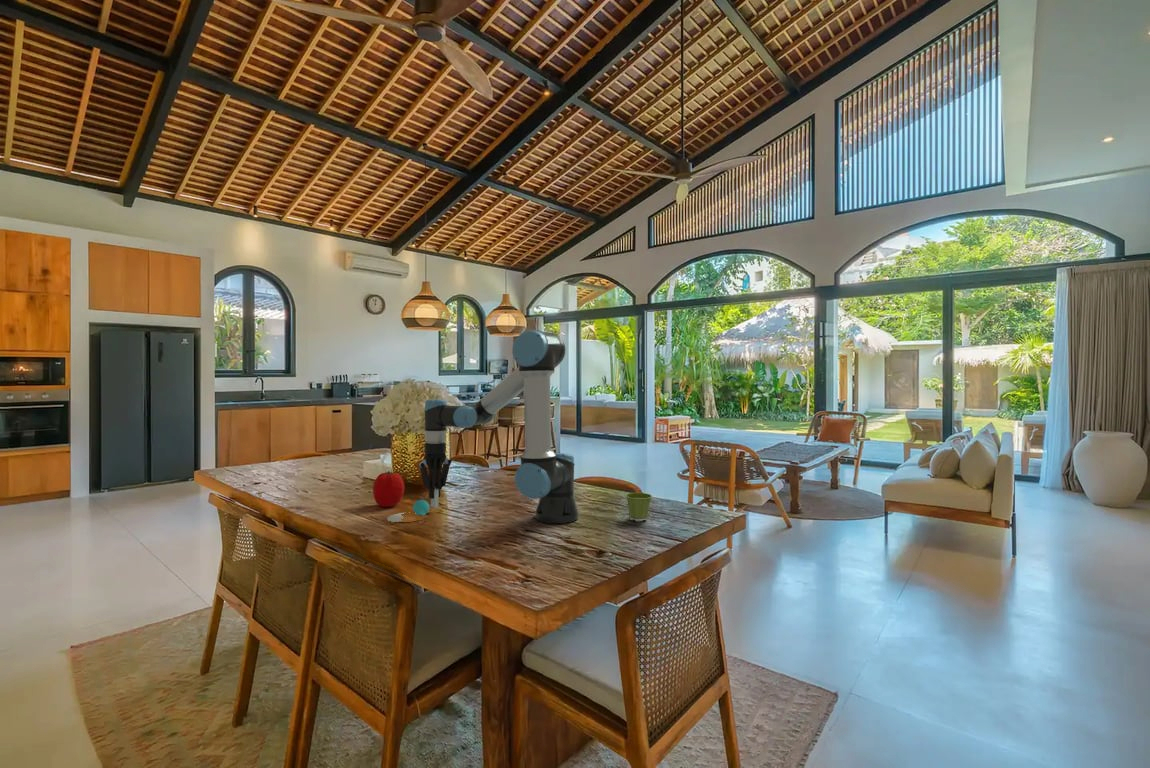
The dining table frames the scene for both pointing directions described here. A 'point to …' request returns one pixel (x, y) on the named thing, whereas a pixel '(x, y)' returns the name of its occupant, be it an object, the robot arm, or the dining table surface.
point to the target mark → (395, 517)
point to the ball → (421, 507)
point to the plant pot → (638, 505)
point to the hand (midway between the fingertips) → (434, 506)
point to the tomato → (388, 489)
